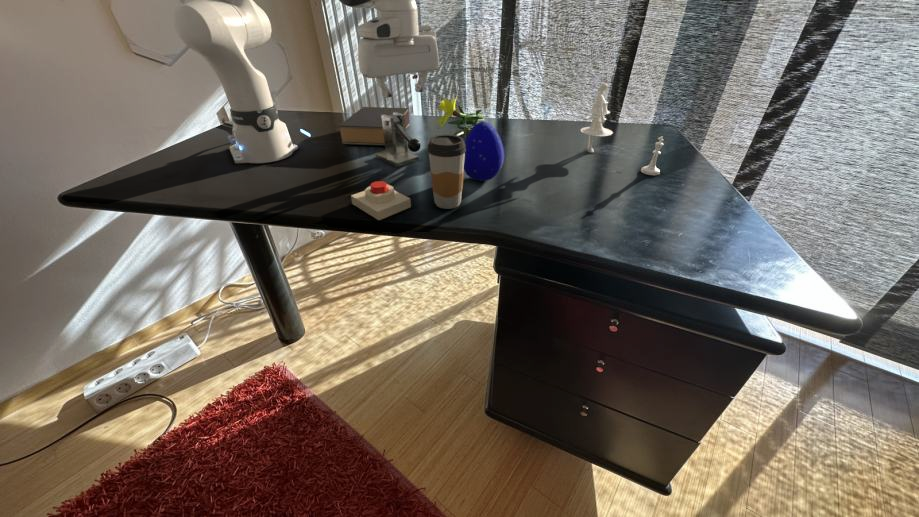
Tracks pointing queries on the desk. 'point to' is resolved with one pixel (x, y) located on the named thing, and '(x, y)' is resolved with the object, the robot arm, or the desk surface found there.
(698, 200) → the desk surface
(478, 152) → the ornament
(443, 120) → the daffodil flowers
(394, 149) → the metal bracket
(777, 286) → the desk surface
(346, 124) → the book
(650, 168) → the chess piece
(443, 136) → the coffee cup
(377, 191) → the button
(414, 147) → the lever
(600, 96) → the figurine
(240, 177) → the desk surface
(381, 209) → the block
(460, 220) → the desk surface
